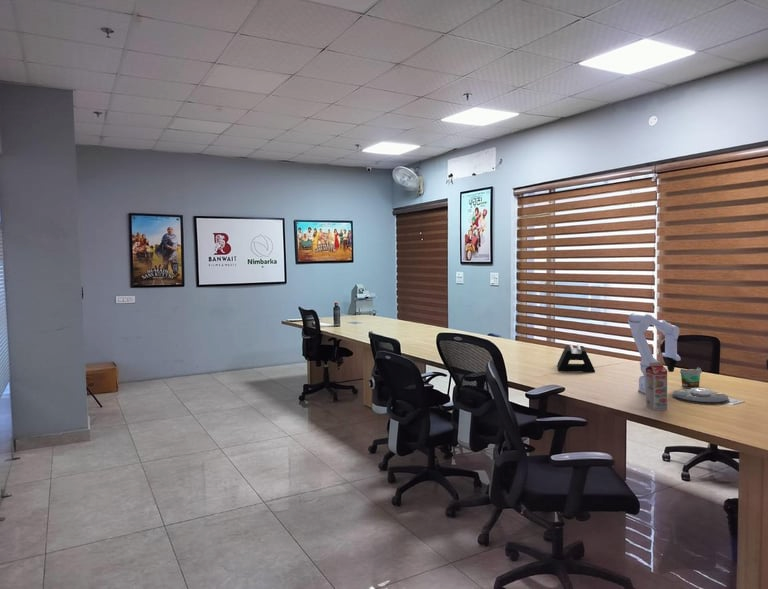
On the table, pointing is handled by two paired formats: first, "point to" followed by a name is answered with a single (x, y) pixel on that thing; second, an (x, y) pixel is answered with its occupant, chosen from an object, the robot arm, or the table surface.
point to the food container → (690, 377)
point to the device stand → (575, 354)
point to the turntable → (714, 397)
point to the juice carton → (656, 386)
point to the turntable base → (700, 402)
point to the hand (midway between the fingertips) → (670, 371)
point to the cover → (700, 392)
